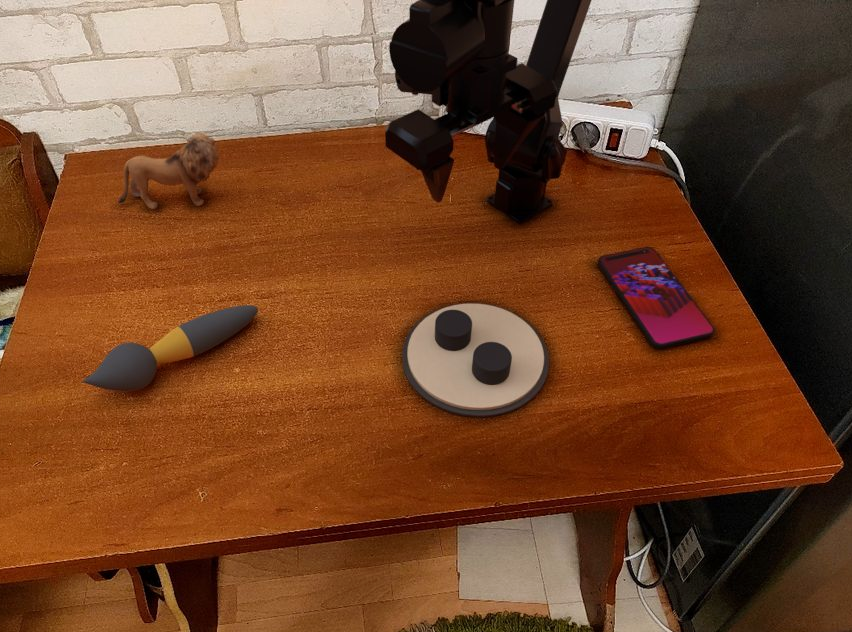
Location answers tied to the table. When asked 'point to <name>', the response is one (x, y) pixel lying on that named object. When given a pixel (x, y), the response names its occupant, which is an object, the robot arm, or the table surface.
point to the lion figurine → (173, 169)
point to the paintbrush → (168, 349)
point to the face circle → (452, 370)
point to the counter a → (453, 330)
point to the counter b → (491, 363)
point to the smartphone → (655, 298)
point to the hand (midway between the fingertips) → (468, 183)
